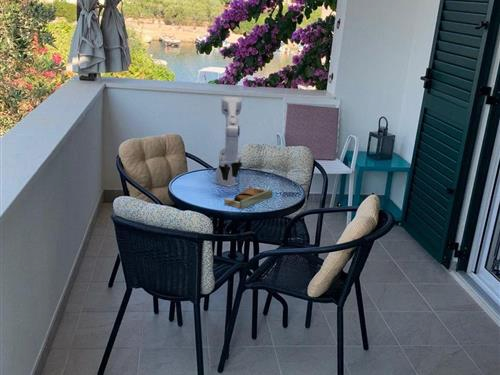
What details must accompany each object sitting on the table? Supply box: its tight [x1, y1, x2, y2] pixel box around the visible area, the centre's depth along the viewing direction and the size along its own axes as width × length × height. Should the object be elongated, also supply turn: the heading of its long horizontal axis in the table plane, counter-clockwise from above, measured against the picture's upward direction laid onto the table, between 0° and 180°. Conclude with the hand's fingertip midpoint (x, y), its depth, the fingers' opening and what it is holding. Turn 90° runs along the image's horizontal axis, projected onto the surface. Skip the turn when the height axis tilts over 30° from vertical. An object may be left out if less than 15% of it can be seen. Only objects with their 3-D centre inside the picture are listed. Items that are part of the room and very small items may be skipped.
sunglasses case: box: [233, 186, 259, 202], centre depth 269 cm, size 18×7×7 cm
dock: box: [223, 187, 274, 210], centre depth 266 cm, size 10×25×4 cm, turn 146°
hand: (229, 178), depth 270 cm, fingers open, 7 cm apart
